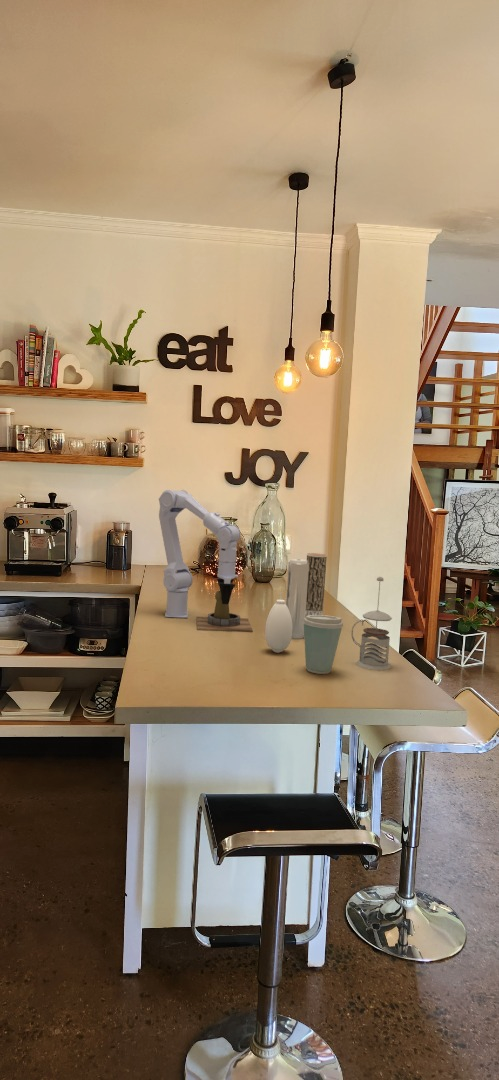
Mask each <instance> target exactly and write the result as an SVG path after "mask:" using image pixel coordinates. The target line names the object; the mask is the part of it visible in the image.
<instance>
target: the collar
mask: <svg viewBox="0 0 499 1080" xmlns="http://www.w3.org/2000/svg"><path fill="white" fill-rule="evenodd" d="M229 615H230V619H220V618H214V617H213V616H214V612H211V613H208V614H207V617H208V624H210V625H214V626H220V627H233V626H238V625H240V618H241V616H240V615H239V614H236V613H230V612H229Z"/></svg>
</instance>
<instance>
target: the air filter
mask: <svg viewBox="0 0 499 1080" xmlns="http://www.w3.org/2000/svg"><path fill="white" fill-rule="evenodd" d="M308 571H309V563H307V559H303V558H302V559H301V558H290V559H289V561H288V567H287V581H286V582H287V583H286V597H285V598H286V599H285V604H286V606H287V607H288V609H289V612H290V615H291V619H292V638H291V640H292V639H294V640H299V639H303V638H304V623H303V620H304V618H305V615H306V601H307V586H308Z"/></svg>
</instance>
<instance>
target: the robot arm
mask: <svg viewBox="0 0 499 1080" xmlns="http://www.w3.org/2000/svg"><path fill="white" fill-rule="evenodd" d="M158 502H159V511H158V512H159V513H158V519H159V524H160V525H159V526H160V530H161V536H162V541H163V546H164V551H165V552H164V553H165V557H166V563H167V565H166V567H165V568H164V570H163V575H164V576H163V586H164V588H165V589H166V592H167V593H166V595H167V596H166V610H165V613H164V617H165V618H184V619H185V618H186V619H187V618H189V611H188V600H189V599H188V597H189V595H188V594H189V590H190V587H191V586H192V585H193V582H194V578H193V575H192V573H191V572H190V569H189V566H188V565H187V564H186V563H185V562H184V558H183V555H182V547H181V544H180V543H181V542H180V537H179V533H178V531H179V530H178V525H177V522H176V521H177V520H176V518H177V517H178V515H179V514H180V513H181V512H183V511H184V510H185V509H187V510H188V511H190V512H191V513H192V514H194V515H195V516H196V517H198V518H199V519H200V520H202V522H203V523H202V524H203V526H204V527H205V528H207V529H208V530H209V531H210V532H212V533H213V534H214V535H215V536H216V539H217V541H218V546H219V548H218V549H219V550H218V552H219V553H218V563H217V564H218V567H217V574H216V575H217V578H216V581H217V582H218V583H217V584H218V587H219V591H221V599H222V604H230V602H231V601H230V600H231V597H232V593H233V590H234V588H235V586H236V583H233V582H234V579H235V578H236V579H237V578H239V575H238V574H236V565H237V563H236V561H237V548H238V545H237V544H238V541H239V540H240V538H241V536H242V535H241V534H242V533H241V530H240V528H239V527H238V526H237V525H235V524H233V525H232V524H231V525H230V522H229V521H228V520H227V521H226V520H225V519H224V518H223V517H221V516H220V515H221V514H220V513H219V512H214V511H212V512H209V510H207V509H206V508H205V507H204V506H203V505H202V504H200V503H199V502H198V501H197V500H196V499H195V498H194V496H193V495H192V494H191V493H189V492H188V491H186V490H184V489H182V490H172V489H166V490H164V491H163V492H162V493H161V495H160V496H159V497H158Z"/></svg>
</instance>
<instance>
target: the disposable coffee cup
mask: <svg viewBox="0 0 499 1080" xmlns="http://www.w3.org/2000/svg"><path fill="white" fill-rule="evenodd" d="M342 620H343V619H342V617H340V616H333V615H326V614H323V615H308V616H306V617H305V618H304V620H303V623H304V654H305V656H304V657H305V667H306V671H307V672H309V673H312V674H318V675H319V674H320V675H325V674H330V673H331V670H332V668H333V665H334V660H335V656H336V653H337V648H338V645H339V640H340V637H341V636H340V635H341V632H342V628H344V622H343V621H342Z"/></svg>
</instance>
